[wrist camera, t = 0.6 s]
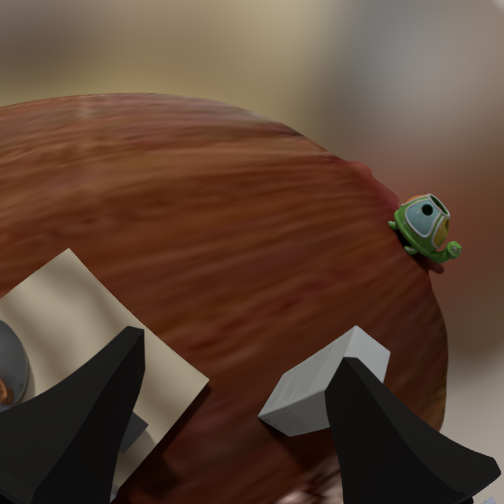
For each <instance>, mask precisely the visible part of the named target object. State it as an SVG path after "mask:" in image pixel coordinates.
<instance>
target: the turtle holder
mask: <svg viewBox="0 0 504 504" xmlns="http://www.w3.org/2000/svg"><path fill="white" fill-rule="evenodd" d="M437 206H439V207H440V208H441V209H442V211H441V210H440V209H439V208H438V207H437ZM449 217H450V214H449V212H448V211H447V209H446V208H445V207H444V205H443V204H442V203H441V202H440V201H439V200H438V199H437V198H436V197H435V196H433V195H432V194H427V195H419V196H414V197H412V198H410V199H409V200H407V201H406V202H405V203H404V204H402V205H401V207H400V208H399V210H397V211H396V212H395V214H394V218H395V222H391V221H389V222H388V224H389V226H390V227H391V228H392V229H393V230H398V229H399V231H400V232H401V234H402V235H403V236H404V238H405V239H406V240H407V241H408V242H409V243H410V244H411V245H412V246H405V247H404V249H405V251H406V252H407V253H408V254H410V255H413V254H416V253H417V252H419V253H420V254H422V255H424V256H427V257H428V258H429V259H430V260H432V261H433V262H435V263H444V262H446V261H448V260H449V259H455V258H457V257H458V256H459V253H460V252H461V250H462V248H461V247H460V245H459V244H458V243H457V242H455V241H452V242H449V243H448V244H447V246H446V248H445V249H444V250H443V251H441V252H436V251H435V250H436V249H439V248H440V246H441V244H442V243H443V242H444V240H445V238H446V236H447V234H448V230H449Z"/></svg>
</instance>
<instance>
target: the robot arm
mask: <svg viewBox="0 0 504 504" xmlns="http://www.w3.org/2000/svg"><path fill="white" fill-rule="evenodd" d="M145 370H146V367H145V332H144V329H141V328H137V327H132V326H127V327H125V328H124V329H123V330H122V331H121V332H120V333H119V334H118V335H117V336H116V337H114V338H113V339H112V340H111V341H110V342H109V343H108V344H107V345H106V346H105V347H104V348H102V349H101V350H100V351H99V352H98V353H97V354H95V355H94V356H93V357H92V358H91V359H90V360H88V361H87V362H86V363H85V364H83V365H82V366H81V367H80V368H78V369H77V370H76V371H74V372H73V373H72V374H70V375H69V376H68V377H66V378H65V379H63V380H62V381H61V382H59V383H58V384H56V385H54V386H53V387H51V388H50V389H48V390H46V391H45V392H43V393H41V394H39V395H37V396H36V397H34V398H32V399H30V400H28V401H26V402H24V403H22V404H19V405H17V406H15V407H12V408H10V409H7V410H5V411H2V412H0V504H110V498H111V491H112V484H113V478H114V473H115V467H116V463H117V458H118V453H119V449H120V446H121V442H122V439H123V436H124V434H125V431H126V428H127V425H128V423H129V420H130V417H131V415H132V412H133V409H134V407H135V404H136V401H137V399H138V396H139V393H140V390H141V386H142V382H143V378H144V374H145ZM324 395H325V405H326V412H327V417H328V421H329V425H330V429H331V433H332V437H333V440H334V444H335V448H336V452H337V456H338V460H339V464H340V470H341V478H342V487H343V504H473V502H474V501H473V498H472V497H473V496H474V495H476V494H477V493H478V492H480V491H481V490H483V489H484V488H485V487H487V486H488V485H489V484H491V483H492V482H493V481H495V480H496V479H497V478H498V477H499V476H500V475H501V471H500V469H499V467H498V465H497V463H496V461H495V459H494V458H492V457H489V456H486V455H484V454H481V453H478V452H475V451H473V450H470V449H468V448H466V447H464V446H462V445H460V444H458V443H456V442H454V441H452V440H450V439H449V438H447V437H445V436H444V435H442V434H441V433H439V432H438V431H436V430H435V429H433V428H432V427H431V426H429V425H428V424H427V423H425V422H424V421H423V420H421V419H420V418H419V417H418V416H416V415H415V414H414V413H413V412H412V411H411V410H410V409H408V408H407V407H406V406H405V405H404V404H403V403H402V402H401V401H400V400H399V399H398V398H397V397H396V396H395V395H394V394H393V393H392V392H391V391H390V390H389V389H388V388H387V387H386V386H385V385H384V384H383V383H382V382H381V381H380V380H379V379H378V378H377V377H376V376H375V375H374V374H373V373H372V372H371V370H370V369H369V368H368V367H367V366H366V365H365V364H364V363H363V362H362V361H361V360H359V359H358V358H357V357H343V358H342V360H341V362H340V364H339V366H338V368H337V370H336V372H335V373H334V375H333V377H332V379H331V381H330V382H329V384H328V386H327V388H326V389H325V391H324ZM482 504H496V503H495V500H494V498H493V497H490V498H489V499H488V500H486V501H485V502H483V503H482Z"/></svg>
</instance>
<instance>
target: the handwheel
mask: <svg viewBox="0 0 504 504" xmlns="http://www.w3.org/2000/svg"><path fill="white" fill-rule="evenodd" d="M28 381H29V363H28V358H27V354H26V351H25V348H24V346H23V344H22V342H21V341H20V339H19V338H18V336H17V335H16V334H15V332H14V331H13V330H12V328H11V327H10V326H9V325H8V324H6V323H5V322H4V321H2V320H0V412H2V411H5V410H7V409H10V408H12V407H15V406H17V405H19V403H20V402H21V400H22V399H23V397H24V395H25V393H26V390H27V387H28Z"/></svg>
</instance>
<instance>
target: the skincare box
mask: <svg viewBox="0 0 504 504" xmlns="http://www.w3.org/2000/svg"><path fill="white" fill-rule="evenodd" d="M389 356H390V351H388V350H387V349H386V348H384V347H383V346H382V345H380V344H379V343H378V342H377V341H375V340H374V339H373V338H371V337H370V336H369V335H368V334H366V333H365V332H364V331H363V330H362V329H360V328H359V327H358V326H355V327H353V328H352V329H351V330H349V331H348V332H346V333H345V334H344V335H342V336H341V337H339V338H338V339H336V340H335V341H334V342H332V343H331V344H329V345H328V346H326V347H325V348H323V349H322V350H320V351H319V352H317V353H316V354H314V355H313V356H311V357H310V358H308V359H307V360H305V361H304V362H302V363H300V364H299V365H297V366H296V367H294V368H292V369H291V370H289V371H288V372H286V373H284V374H283V376H282V377H281V379H280V381H279V382H278V384H277V386H276V387H275V389H274V391H273V392H272V394H271V396H270V397H269V399H268V401H267V402H266V404H265V406H264V407H263V409H262V410H261V412H260V414H259V415H258V417H259V418H260V419H262V420H263V421H265V422H266V423H268V424H270V425H271V426H273V427H274V428H276V429H278V430H279V431H281V432H282V433H284V434H286V435H287V436H289V437H291V436H296V435H300V434H305V433H309V432H313V431H317V430H321V429H325V428H328V427H330V425H329V421H328V417H327V412H326V405H325V395H324V391H325V389H326V388H327V386H328V384H329V382H330V381H331V379H332V377H333V375H334V373H335V372H336V370H337V368H338V366H339V364H340V362H341V360H342V358H343V357H357V358H358V359H359V360H361V361H362V362H363V363H364V364H365V365H366V366H367V367H368V368H369V369H370V370H371V372H372V373H373V374H374V375H375V376H376V377H377V378H378V379H379V380H380V381H381V382H382V383H383V381H384V377H385V373H386V369H387V365H388V360H389Z"/></svg>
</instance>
